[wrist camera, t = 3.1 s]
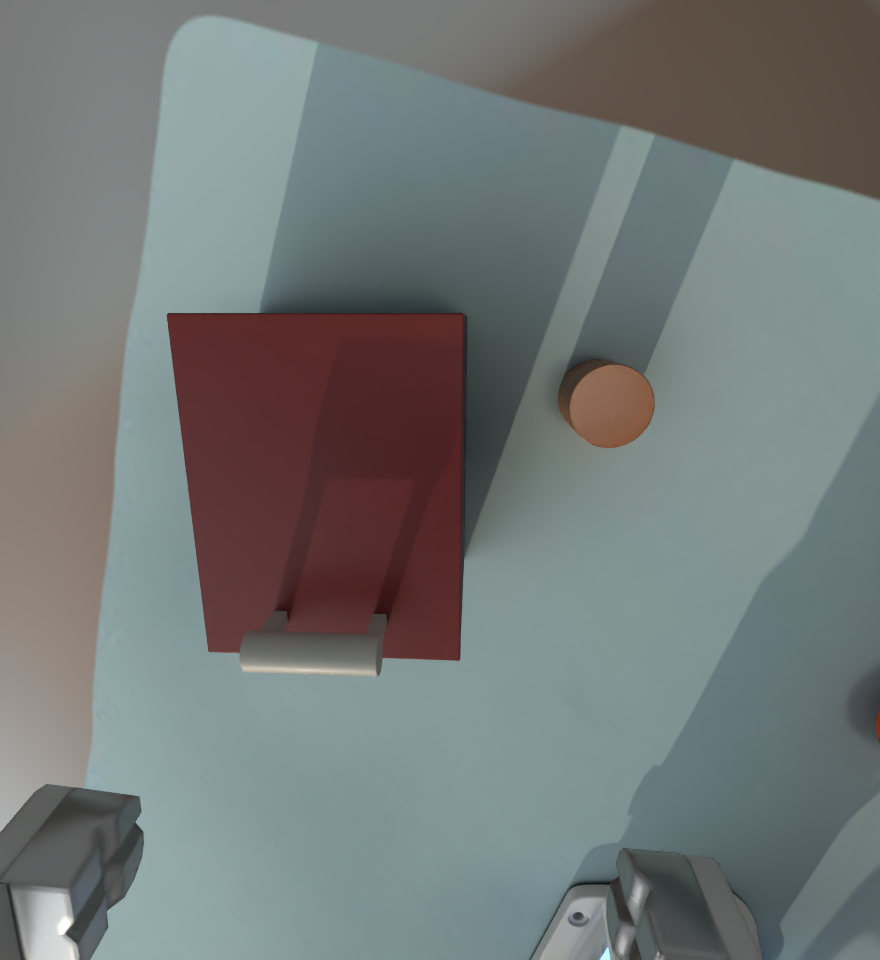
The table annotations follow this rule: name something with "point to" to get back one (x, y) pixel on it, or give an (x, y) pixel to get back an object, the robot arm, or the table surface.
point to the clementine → (878, 724)
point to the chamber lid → (324, 484)
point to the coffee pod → (606, 402)
